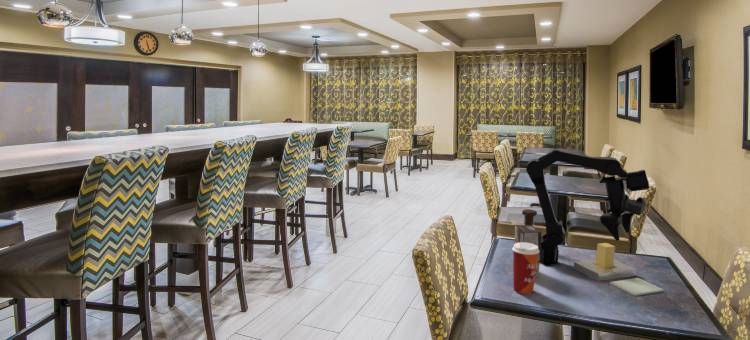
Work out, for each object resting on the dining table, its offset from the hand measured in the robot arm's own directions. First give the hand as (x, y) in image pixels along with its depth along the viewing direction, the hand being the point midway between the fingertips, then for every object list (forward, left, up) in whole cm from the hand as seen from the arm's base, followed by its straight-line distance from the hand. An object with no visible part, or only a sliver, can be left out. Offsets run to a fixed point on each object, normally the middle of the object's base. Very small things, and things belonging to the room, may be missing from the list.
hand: (622, 236), depth 170 cm
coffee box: (-33, +9, -13) cm, 37 cm away
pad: (-6, -13, -13) cm, 19 cm away
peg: (-6, +1, -13) cm, 14 cm away
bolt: (-15, +33, -13) cm, 39 cm away
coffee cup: (-43, -4, -13) cm, 45 cm away
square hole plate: (-6, +1, -13) cm, 14 cm away
